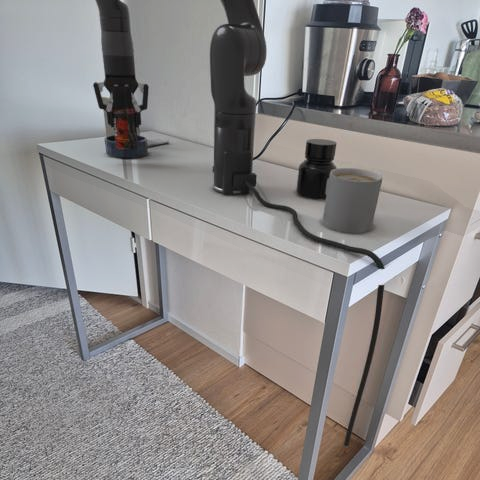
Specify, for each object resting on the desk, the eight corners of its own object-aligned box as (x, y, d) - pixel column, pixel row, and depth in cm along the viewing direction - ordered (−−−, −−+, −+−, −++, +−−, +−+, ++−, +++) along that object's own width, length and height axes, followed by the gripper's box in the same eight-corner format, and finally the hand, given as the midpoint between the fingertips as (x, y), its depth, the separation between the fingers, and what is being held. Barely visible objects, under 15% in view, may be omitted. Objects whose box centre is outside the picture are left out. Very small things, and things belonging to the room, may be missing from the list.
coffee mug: (351, 237, 83) (361, 184, 77) (312, 221, 89) (319, 171, 84) (391, 223, 90) (403, 174, 85) (352, 209, 97) (361, 163, 91)
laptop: (170, 143, 146) (168, 100, 139) (140, 148, 138) (136, 103, 130) (136, 135, 155) (132, 94, 148) (106, 139, 147) (101, 96, 140)
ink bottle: (336, 201, 101) (345, 147, 94) (298, 200, 101) (305, 145, 94) (328, 189, 109) (336, 138, 103) (293, 187, 109) (299, 136, 102)
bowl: (149, 158, 127) (148, 142, 125) (106, 159, 125) (104, 142, 122) (146, 149, 137) (145, 134, 135) (106, 149, 135) (104, 134, 132)
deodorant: (142, 147, 120) (137, 85, 112) (127, 150, 115) (121, 87, 107) (126, 143, 122) (121, 83, 114) (111, 147, 118) (104, 84, 110)
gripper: (86, 53, 102) (96, 129, 111) (148, 55, 105) (153, 129, 115) (88, 51, 108) (97, 124, 117) (146, 53, 111) (151, 124, 121)
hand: (125, 126), depth 116 cm, fingers closed on deodorant, 6 cm apart
